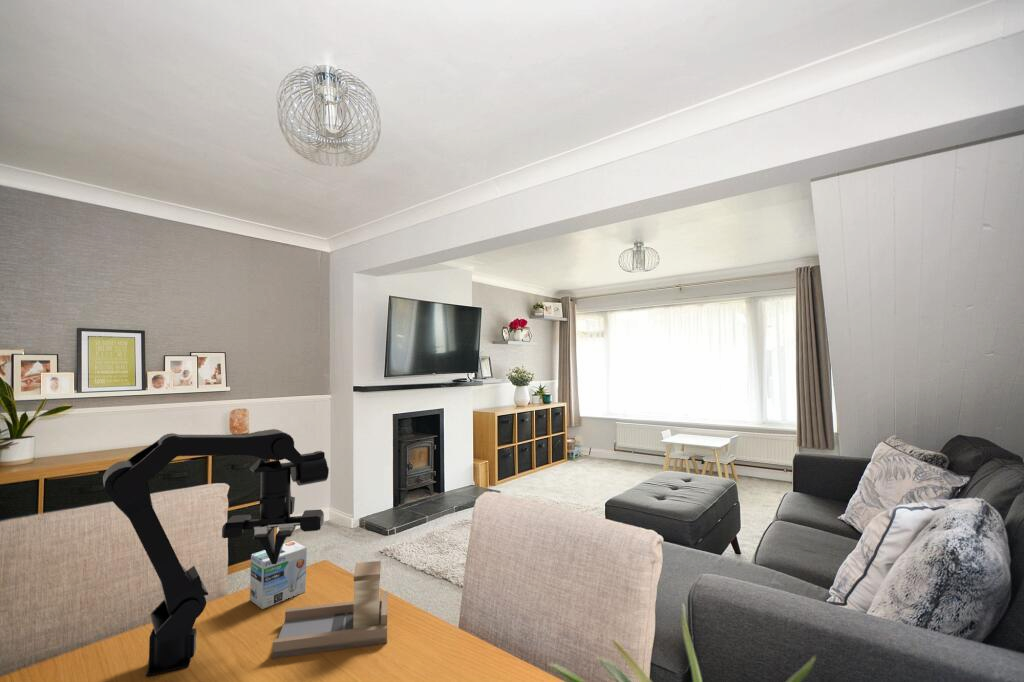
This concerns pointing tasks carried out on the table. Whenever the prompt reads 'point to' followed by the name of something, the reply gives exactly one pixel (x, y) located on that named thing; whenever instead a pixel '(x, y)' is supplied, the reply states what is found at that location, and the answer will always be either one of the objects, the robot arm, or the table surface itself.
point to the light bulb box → (278, 575)
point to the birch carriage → (366, 594)
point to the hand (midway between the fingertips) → (274, 563)
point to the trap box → (327, 629)
